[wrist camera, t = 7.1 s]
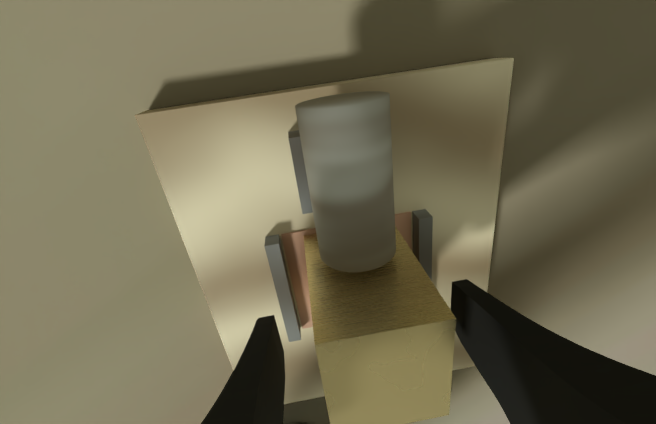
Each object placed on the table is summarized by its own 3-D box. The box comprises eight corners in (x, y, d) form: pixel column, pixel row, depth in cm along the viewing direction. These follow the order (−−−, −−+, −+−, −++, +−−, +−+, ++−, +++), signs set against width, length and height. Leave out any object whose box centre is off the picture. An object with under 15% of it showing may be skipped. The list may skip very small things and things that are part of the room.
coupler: (395, 297, 16) (449, 414, 11) (316, 311, 16) (333, 438, 11) (392, 220, 14) (456, 318, 9) (303, 235, 14) (314, 344, 9)
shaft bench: (468, 349, 21) (520, 431, 16) (251, 392, 20) (241, 491, 15) (495, 57, 13) (606, 58, 9) (147, 110, 12) (68, 140, 8)
